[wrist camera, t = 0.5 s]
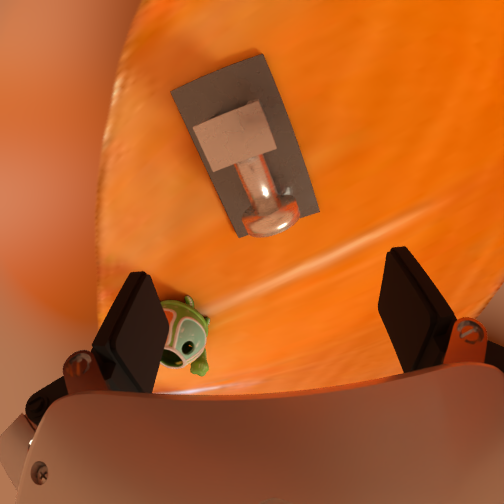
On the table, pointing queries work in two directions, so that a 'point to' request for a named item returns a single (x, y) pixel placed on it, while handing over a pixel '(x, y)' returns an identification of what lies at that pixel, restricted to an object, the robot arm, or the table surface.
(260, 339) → the table surface
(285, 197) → the door knob
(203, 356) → the turtle holder
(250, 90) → the bearing housing
